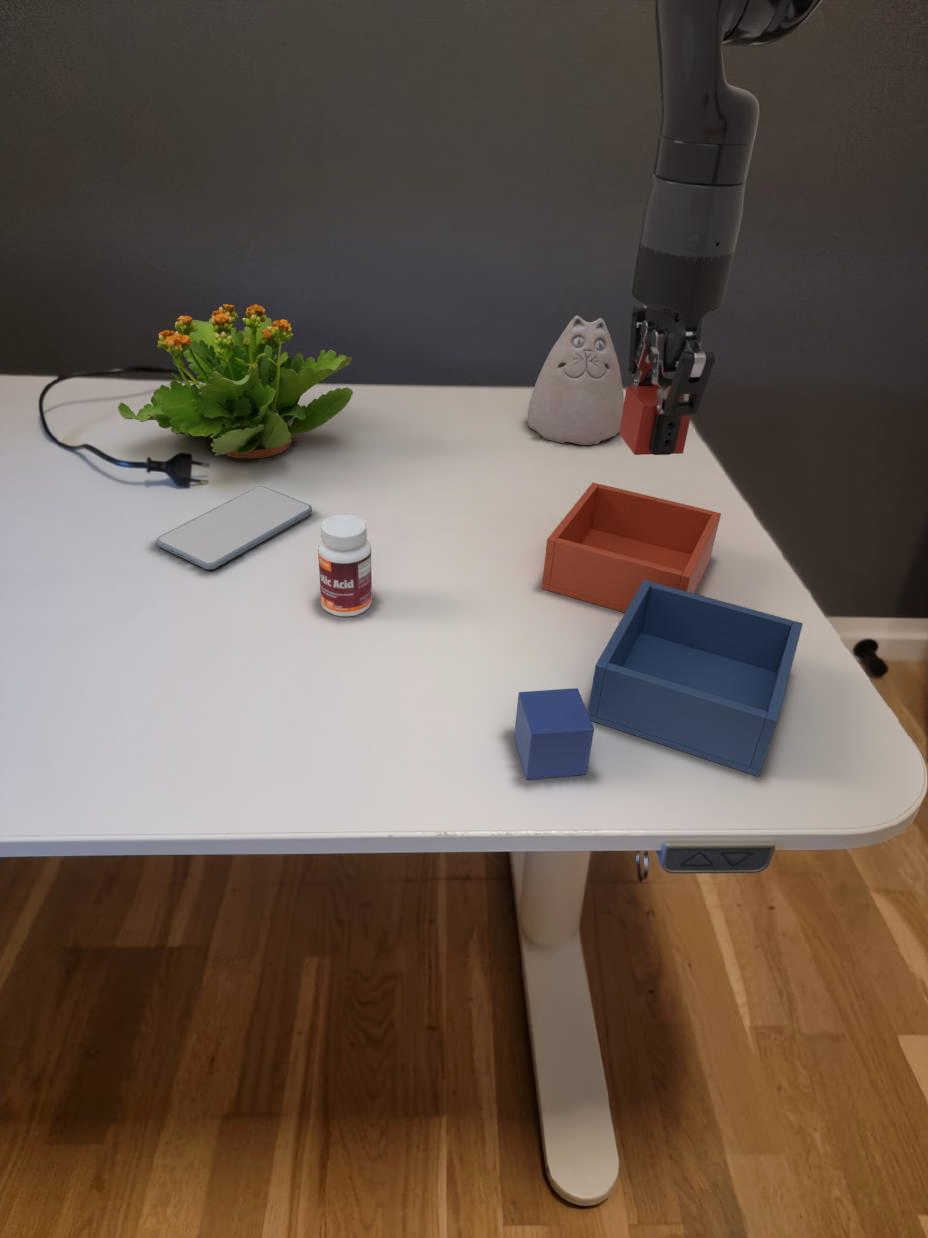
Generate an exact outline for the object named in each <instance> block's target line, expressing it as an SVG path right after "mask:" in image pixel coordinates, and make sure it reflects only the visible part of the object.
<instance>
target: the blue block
mask: <svg viewBox="0 0 928 1238" xmlns="http://www.w3.org/2000/svg"><path fill="white" fill-rule="evenodd" d="M581 695H582V694H581V693H580V691H579V688H578V687H574V688H562V689H561V688H560V689H545V690H531V691H519V692H518V694H517V702H516V703H517V704H516V706H517V707H516V714H515V723H514V724H515V725H514V733H513V738H514V743H515V745H516V749H517V752H518V755H519V759H520V763H521V766H522V770H523V774H524V776H525V779H526V780H536V779H537V780H538V779H549V778H560V777H572V776H573V777H574V776H584V775H587V773H588V767H589V761H590V754H591V749H592V746H593V745H592V744H593V739H594V733H595V728H594V725H593V723H592V721H591V720H590V718H589V715H588V709H587V708H586V705H585V703H584V700H583V698H582V696H581Z"/></svg>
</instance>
